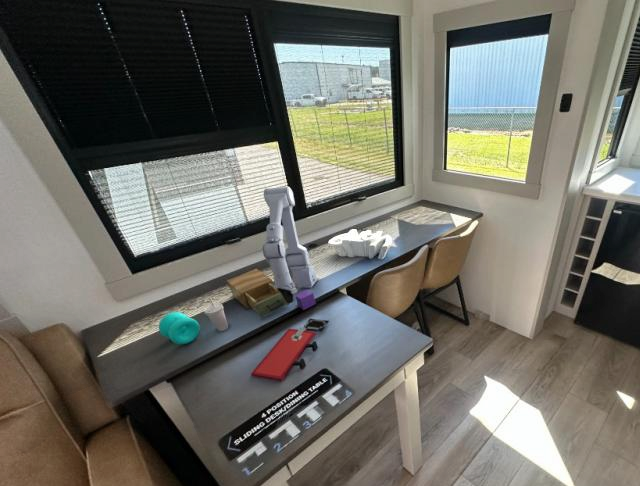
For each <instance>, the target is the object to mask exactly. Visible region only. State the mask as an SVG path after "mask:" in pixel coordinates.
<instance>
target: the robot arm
mask: <svg viewBox="0 0 640 486" xmlns="http://www.w3.org/2000/svg"><path fill="white" fill-rule="evenodd" d="M263 199H264V202H265V203H266V205H267V207H268V208H269V209H268V210H269V212H268V213H269V223H268V224H267V225H266V230H265V231H266V232H265V243H263V244H262V253H263V257H264V258H265V260H266V262H267V263H268V264H269V266H270V270H271V272H272V275H273V277H272V280H273V283H275V284H274V288H275V289H277V290H278V291H279V292H280V293H281V294H282V295H283V297H284V299H285V300H286V302H287V303H288V305H289V304H292V303H293V302H294V294H296V293H298V290H297V288H305V289H307V288H308V289H311V288H313V286H314V285H315V284H316V283H317V281H318V278H317V275H316V271H315V267H314V266H312V265H310V262H311V261H310V260H311V259H310V254H309V252H308V249H307V248H306V247H305V246H303V245H301V244H300V242H299V237H298V232H297V228H296V223H295V219H294V214H293V207H295V206H296V201H295V197H294V192H293V190H292V188H291V187H290V186H283V187H269V188H268V187H266V188H264V189H263ZM281 223H282V224H281ZM284 235H285V239H286V244H287V248H286V247H285V242H284ZM290 270H291V273H292V276H293V279H292V278H291V274H290Z"/></svg>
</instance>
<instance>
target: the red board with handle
mask: <svg viewBox="0 0 640 486" xmlns="http://www.w3.org/2000/svg"><path fill="white" fill-rule="evenodd" d="M329 322H330V320H325V319H317V318H309V319H308V320H307V321H306V323H305V324H304V325H303V326H302V327H300V328H299V329H296V328H288V329H287V330H286V331H285V332H284V333H283V335H282V336H280V338H279V340H278V341H276V343H275V344H274V345H273V347H272V348H271V349H270V350H269V351H268V352H267V353H266V355H265V356H264V357H263V358H262V360H261V361H260V362H259V363H258V365H256V367H255V368H254V369H253V370H252V371H251V373H250V375H251V377H255V378H260V379H261V378H262V379H265V380H266V379H268V380H272V381H273V380H274V381H279V382H283V381H284V380H285V378H286V376H287V375H288V374H289V372H290V371H291V370H292V368H293V367H295V366H299V369H300V370H304V369H305V368H306V366H307V365H306V362H305V359H304V358H300V357H301V356H302V355H303V354H304V351H305V350H306V349H311V350H312V352H316V351H317V350H318V348H319V347H318V343H317V341H314V340H313V339H314V337H315V336H316V335H317V332H320V333H322V332H323V331H324V329H325V328H326V327H327V325H328V324H329ZM299 358H300V360H299Z"/></svg>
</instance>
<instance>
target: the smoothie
mask: <svg viewBox="0 0 640 486" xmlns="http://www.w3.org/2000/svg"><path fill="white" fill-rule="evenodd" d="M208 299H209V302H210V303H211V304H209V305H208V306H206V307H205V308H204V310H203V313H204V315H206V316H207V317H208V318H209V320H210V321H211V323H212V324H213V325H214V327H215V328H216V330H217V331H218V332H224V331H226V330H227V329H229V325H228V321H227V317H226V314H225V311H224V306H223V304H222V303H220V302H219V303H218V302H217V303H214V301H213V298H212V297H211V296H209V297H208Z"/></svg>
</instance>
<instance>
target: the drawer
mask: <svg viewBox="0 0 640 486" xmlns="http://www.w3.org/2000/svg"><path fill="white" fill-rule="evenodd" d="M244 296H245V299H246V301H247V303H248V304H249V305H250V306H251V308H252V309H253V310H254V311H255V312H256V313H257V314H258V316H259V318H260V319H262V318H264V317H266V316H268V315H270V314H272V313H274V312H276V311H278V310H280V309H282V308H284V307H286V306H289V304H288V303H287V302H286V300H285V299H284V297H283V295H282V294H281V293H280V292H279V291H278V290H277V289H275V288H274V286H273V285H272V284H271V283H267V284H265V285H263V286H260V287H258V288H256V289H253V290H251V291H249V292H246V293H244Z"/></svg>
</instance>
